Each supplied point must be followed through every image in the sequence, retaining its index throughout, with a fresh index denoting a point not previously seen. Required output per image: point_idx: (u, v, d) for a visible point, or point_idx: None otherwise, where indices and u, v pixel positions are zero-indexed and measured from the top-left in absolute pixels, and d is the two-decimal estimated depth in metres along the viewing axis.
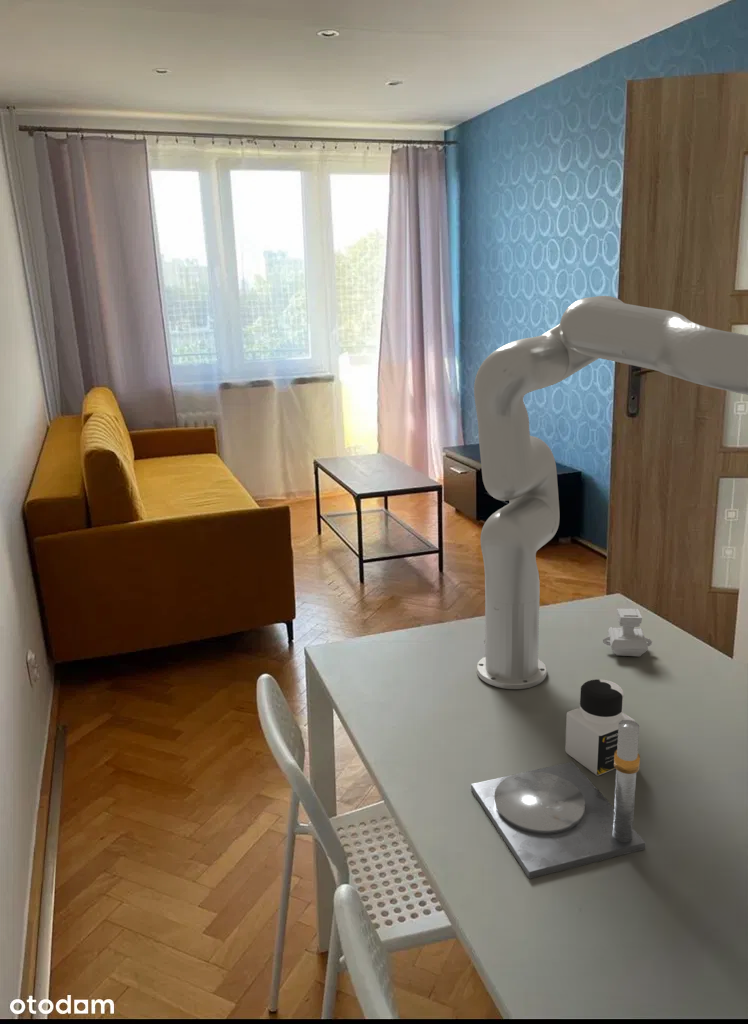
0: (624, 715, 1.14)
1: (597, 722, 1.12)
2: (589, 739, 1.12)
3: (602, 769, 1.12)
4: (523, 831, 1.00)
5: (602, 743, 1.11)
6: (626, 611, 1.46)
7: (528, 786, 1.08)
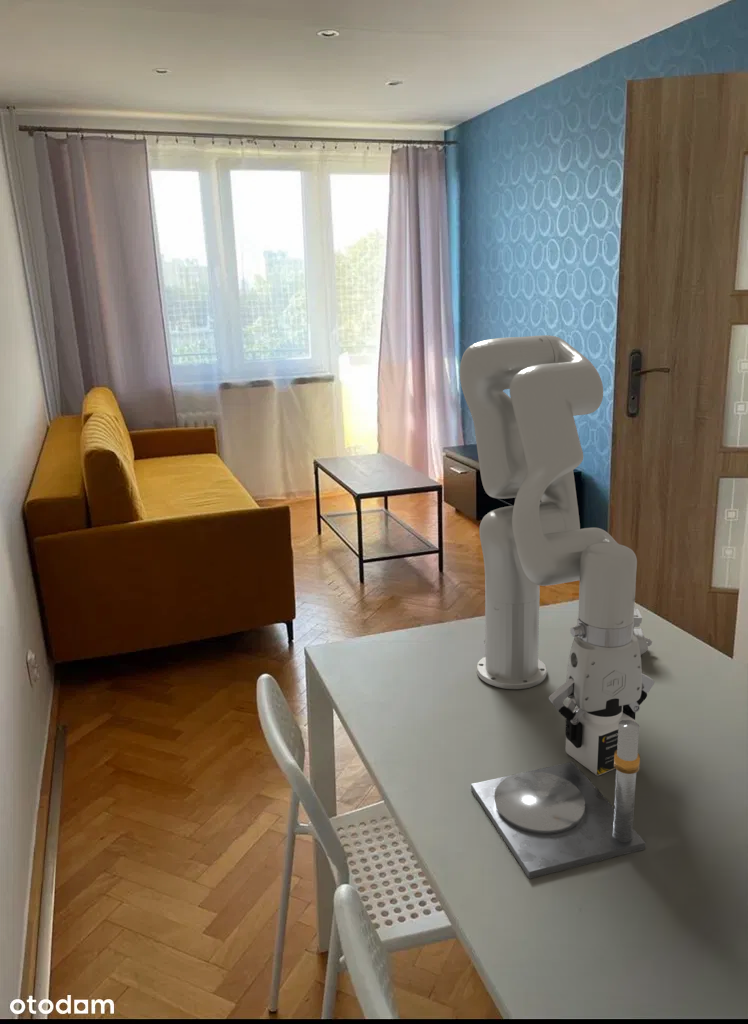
0: (624, 715, 1.14)
1: (597, 722, 1.12)
2: (589, 739, 1.12)
3: (602, 769, 1.12)
4: (523, 831, 1.00)
5: (602, 743, 1.11)
6: None
7: (528, 786, 1.08)
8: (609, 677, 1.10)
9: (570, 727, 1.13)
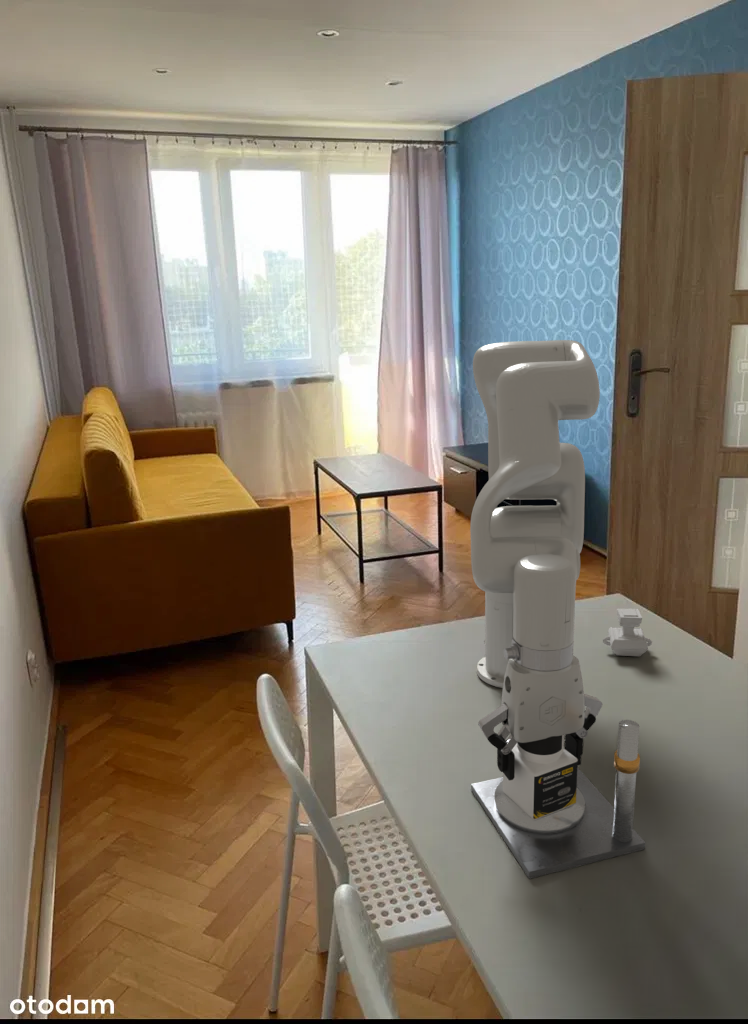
0: (566, 752, 1.03)
1: (534, 760, 1.01)
2: (525, 779, 1.01)
3: (539, 813, 1.01)
4: (523, 831, 1.00)
5: (538, 784, 0.99)
6: (626, 611, 1.46)
7: None
8: (547, 704, 0.98)
9: (501, 757, 1.01)
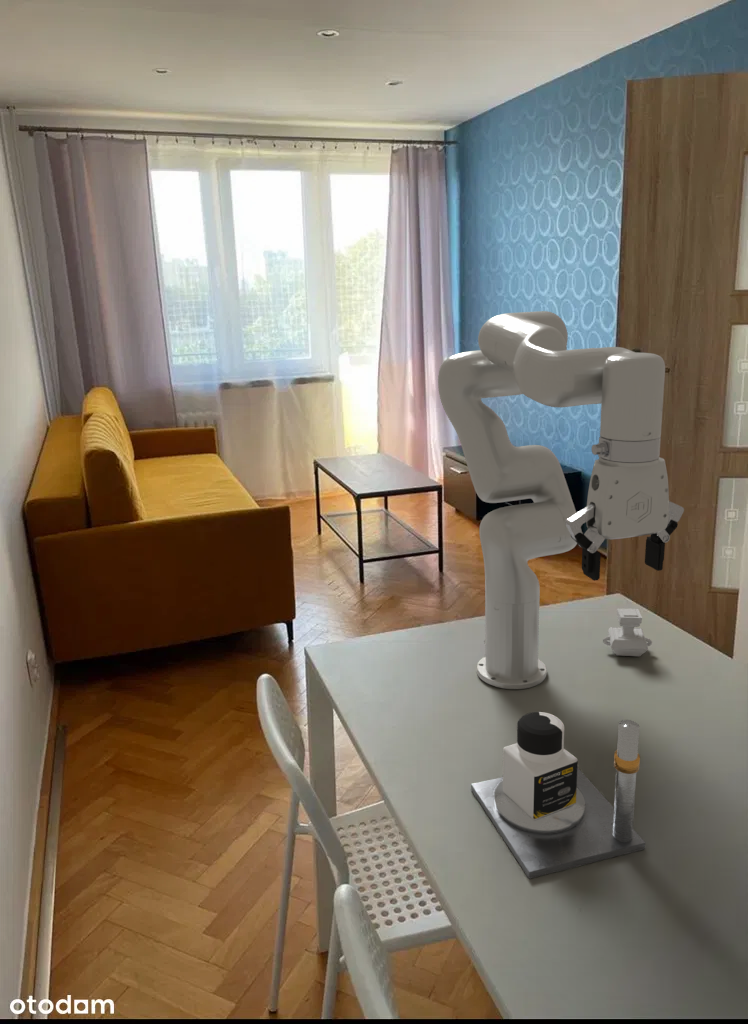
0: (566, 752, 1.03)
1: (533, 760, 1.01)
2: (525, 779, 1.01)
3: (539, 813, 1.01)
4: (523, 831, 1.00)
5: (538, 784, 0.99)
6: (626, 611, 1.46)
7: None
8: (634, 499, 1.00)
9: (587, 557, 1.04)
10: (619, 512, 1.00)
